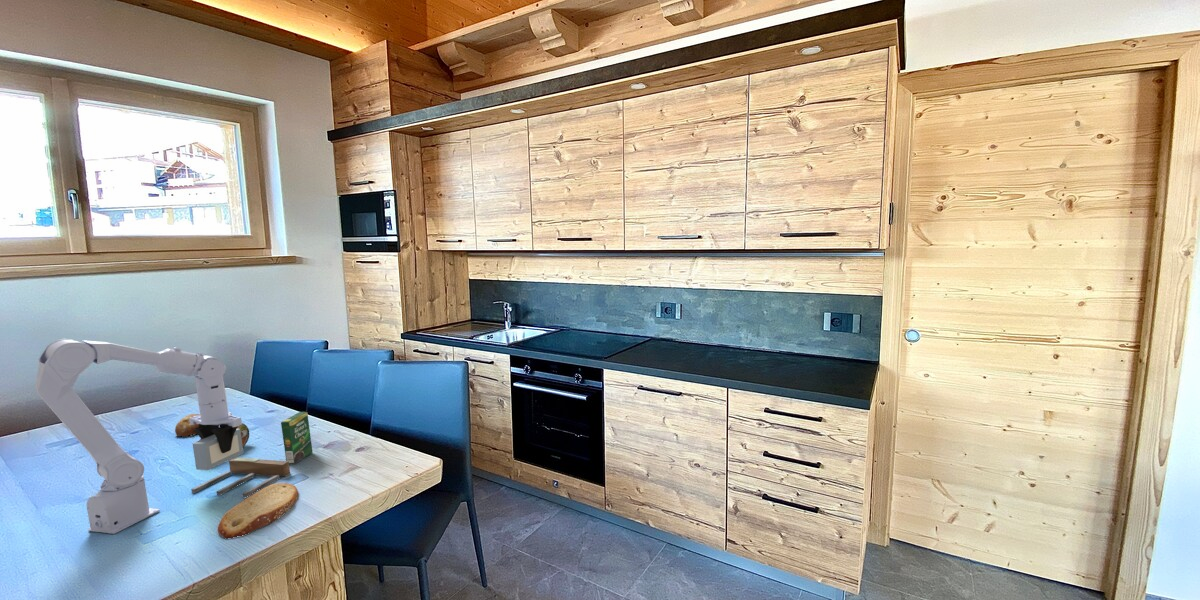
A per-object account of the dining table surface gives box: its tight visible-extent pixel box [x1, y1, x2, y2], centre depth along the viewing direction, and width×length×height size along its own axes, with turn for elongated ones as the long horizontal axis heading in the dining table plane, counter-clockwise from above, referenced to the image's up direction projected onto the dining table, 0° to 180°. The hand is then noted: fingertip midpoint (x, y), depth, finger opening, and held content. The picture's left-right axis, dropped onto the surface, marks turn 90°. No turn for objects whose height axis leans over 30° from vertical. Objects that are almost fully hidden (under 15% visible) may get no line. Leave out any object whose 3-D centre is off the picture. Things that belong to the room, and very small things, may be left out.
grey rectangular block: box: [191, 429, 244, 471], centre depth 129 cm, size 10×4×7 cm, turn 168°
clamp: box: [191, 457, 291, 498], centre depth 130 cm, size 13×18×4 cm
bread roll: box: [174, 413, 200, 437], centre depth 170 cm, size 10×10×8 cm
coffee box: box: [280, 411, 313, 465], centre depth 144 cm, size 8×3×13 cm, turn 175°
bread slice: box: [217, 482, 299, 540], centre depth 116 cm, size 18×18×4 cm
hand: (219, 451), depth 129 cm, fingers closed on grey rectangular block, 4 cm apart
